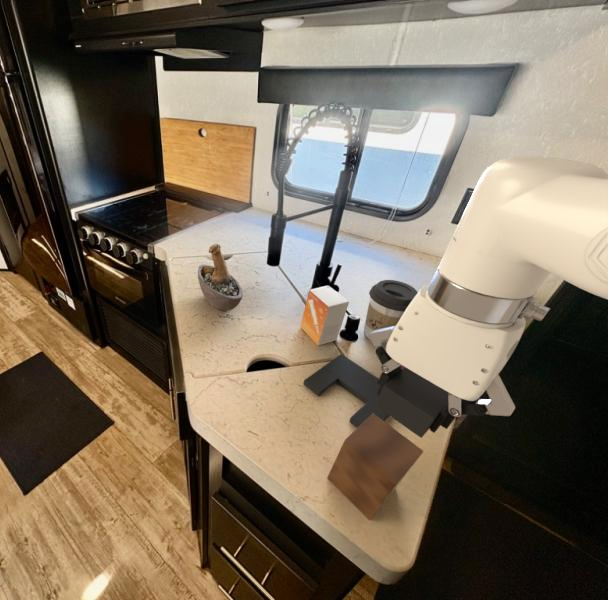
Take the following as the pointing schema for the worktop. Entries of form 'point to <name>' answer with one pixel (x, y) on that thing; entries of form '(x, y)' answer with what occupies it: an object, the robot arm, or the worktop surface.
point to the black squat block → (412, 401)
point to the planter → (219, 282)
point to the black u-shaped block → (349, 386)
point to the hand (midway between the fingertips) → (409, 406)
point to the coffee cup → (387, 304)
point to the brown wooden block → (372, 464)
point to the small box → (323, 314)
